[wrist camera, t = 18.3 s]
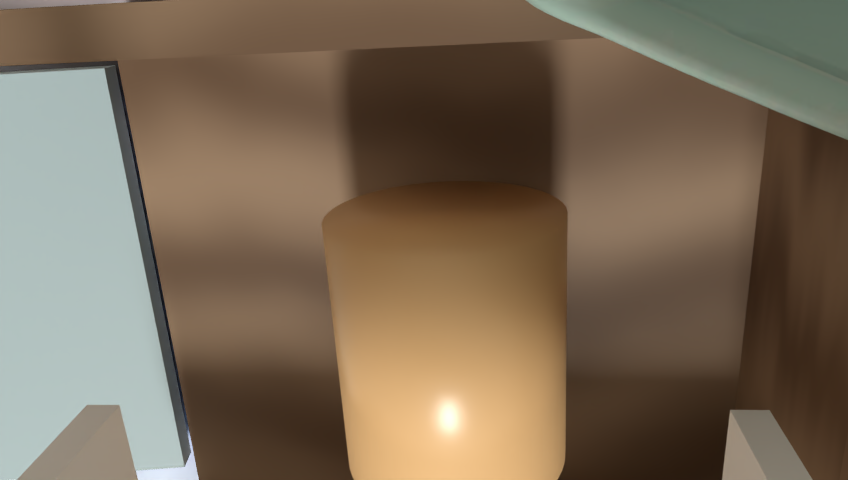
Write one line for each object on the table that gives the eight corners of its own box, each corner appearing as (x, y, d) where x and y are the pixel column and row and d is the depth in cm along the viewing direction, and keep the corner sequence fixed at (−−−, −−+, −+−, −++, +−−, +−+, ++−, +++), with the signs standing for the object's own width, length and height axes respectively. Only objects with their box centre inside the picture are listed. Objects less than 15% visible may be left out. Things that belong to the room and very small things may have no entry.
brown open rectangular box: (129, 3, 24) (-195, 20, 13) (807, -36, 22) (1135, -57, 10) (218, 483, 31) (54, 767, 20) (743, 498, 28) (898, 837, 17)
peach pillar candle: (354, 182, 24) (287, 257, 18) (563, 178, 23) (573, 257, 16) (374, 386, 27) (322, 516, 20) (562, 391, 26) (570, 531, 19)
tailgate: (116, 64, 25) (-117, 78, 24) (104, 68, 24) (-141, 83, 23) (191, 449, 30) (1, 464, 30) (184, 466, 29) (-14, 481, 29)
